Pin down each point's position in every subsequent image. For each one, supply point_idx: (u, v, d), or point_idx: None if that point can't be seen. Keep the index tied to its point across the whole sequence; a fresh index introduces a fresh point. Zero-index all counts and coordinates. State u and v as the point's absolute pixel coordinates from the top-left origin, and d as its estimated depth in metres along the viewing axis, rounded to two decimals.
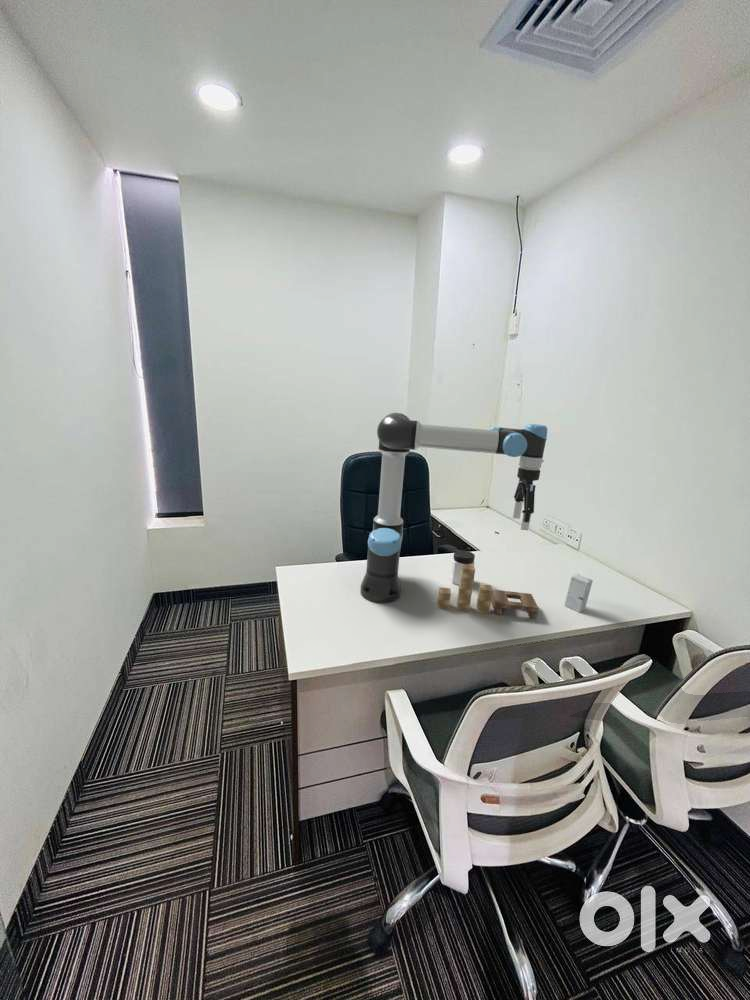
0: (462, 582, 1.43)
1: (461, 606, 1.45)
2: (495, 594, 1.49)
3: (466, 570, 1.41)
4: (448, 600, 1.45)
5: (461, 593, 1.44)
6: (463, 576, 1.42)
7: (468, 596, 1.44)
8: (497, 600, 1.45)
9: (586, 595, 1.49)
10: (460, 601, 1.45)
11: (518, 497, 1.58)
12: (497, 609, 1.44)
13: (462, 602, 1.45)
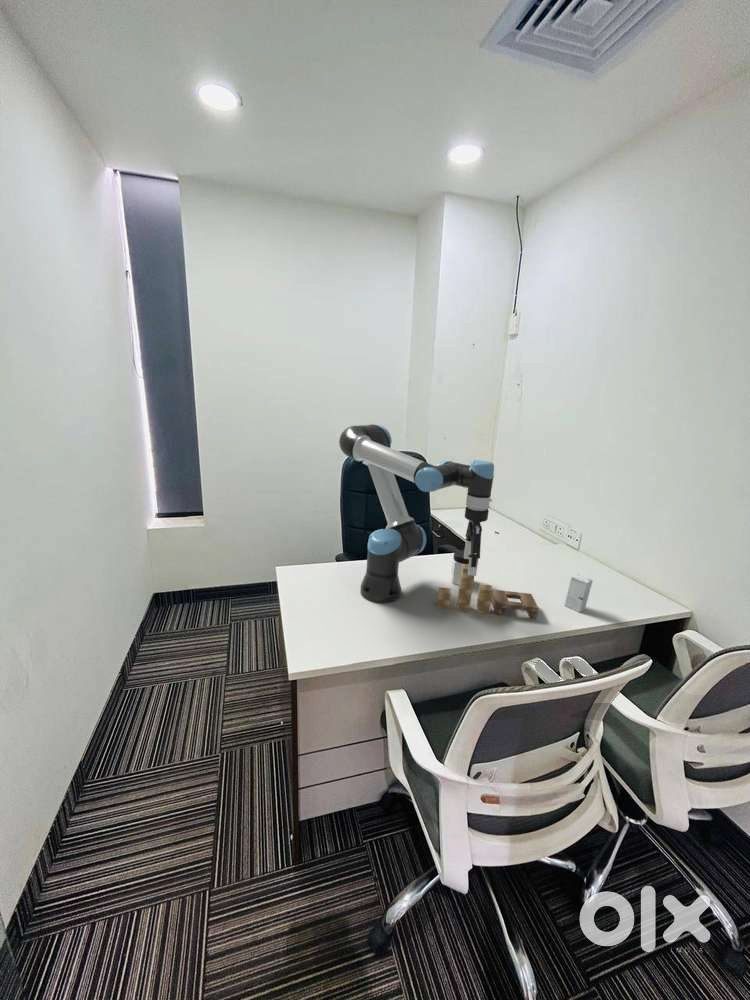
0: (462, 582, 1.43)
1: (461, 606, 1.45)
2: (495, 594, 1.49)
3: (466, 570, 1.41)
4: (448, 600, 1.45)
5: (461, 593, 1.44)
6: (463, 576, 1.42)
7: (468, 596, 1.44)
8: (497, 600, 1.45)
9: (586, 595, 1.49)
10: (460, 601, 1.45)
11: (468, 537, 1.46)
12: (497, 609, 1.44)
13: (462, 602, 1.45)
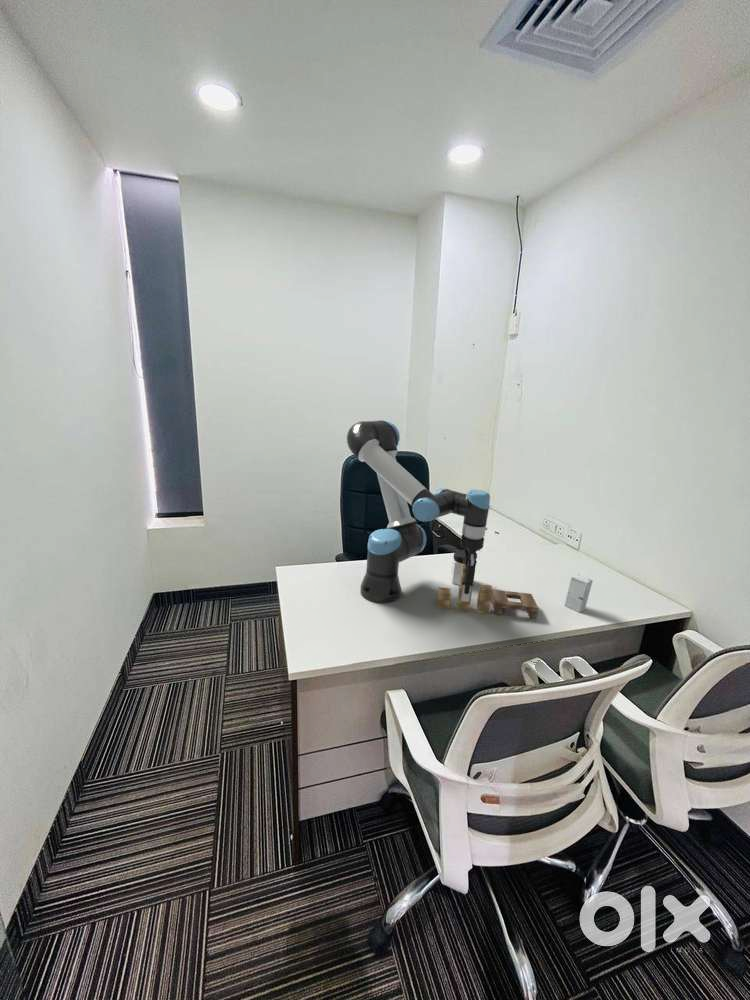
0: None
1: (461, 606, 1.45)
2: (495, 594, 1.49)
3: None
4: (448, 600, 1.45)
5: (461, 593, 1.44)
6: (463, 576, 1.42)
7: None
8: (497, 600, 1.45)
9: (586, 595, 1.49)
10: (460, 601, 1.45)
11: None
12: (497, 609, 1.44)
13: (462, 602, 1.45)
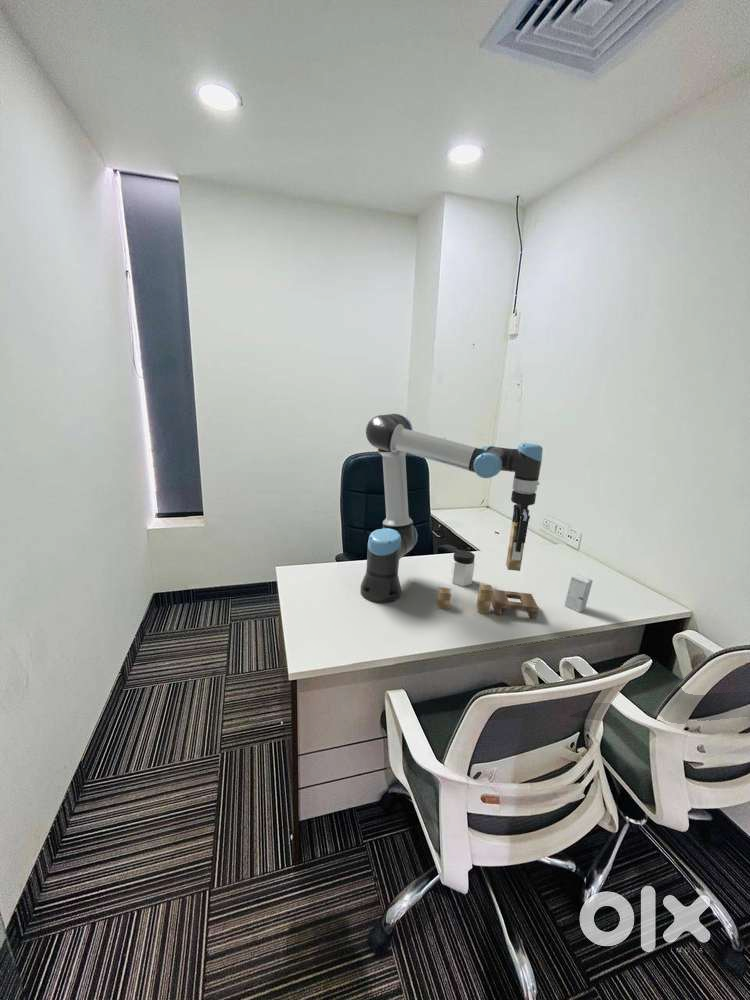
0: None
1: (511, 566, 1.41)
2: (495, 594, 1.49)
3: None
4: (448, 600, 1.45)
5: (512, 552, 1.40)
6: (514, 534, 1.38)
7: None
8: (497, 600, 1.45)
9: (586, 595, 1.49)
10: (511, 560, 1.41)
11: None
12: (497, 609, 1.44)
13: (513, 561, 1.41)
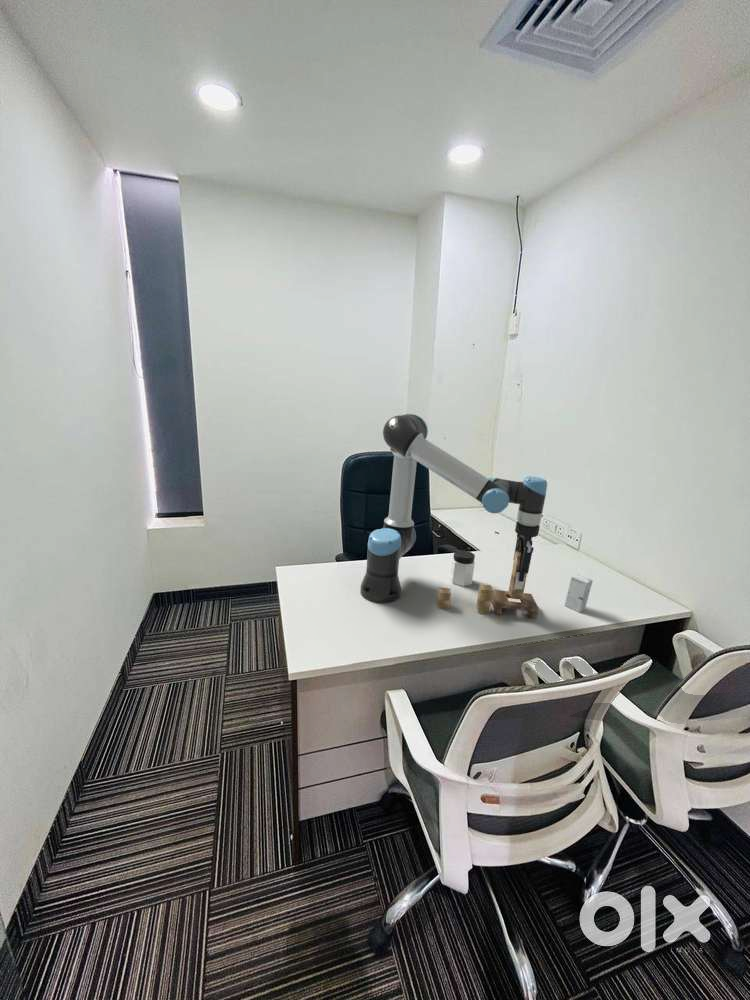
0: (516, 569, 1.42)
1: (514, 594, 1.45)
2: (495, 594, 1.49)
3: None
4: (448, 600, 1.45)
5: None
6: (517, 563, 1.42)
7: None
8: (497, 600, 1.45)
9: (586, 595, 1.49)
10: (513, 589, 1.44)
11: None
12: (497, 609, 1.44)
13: (515, 590, 1.44)
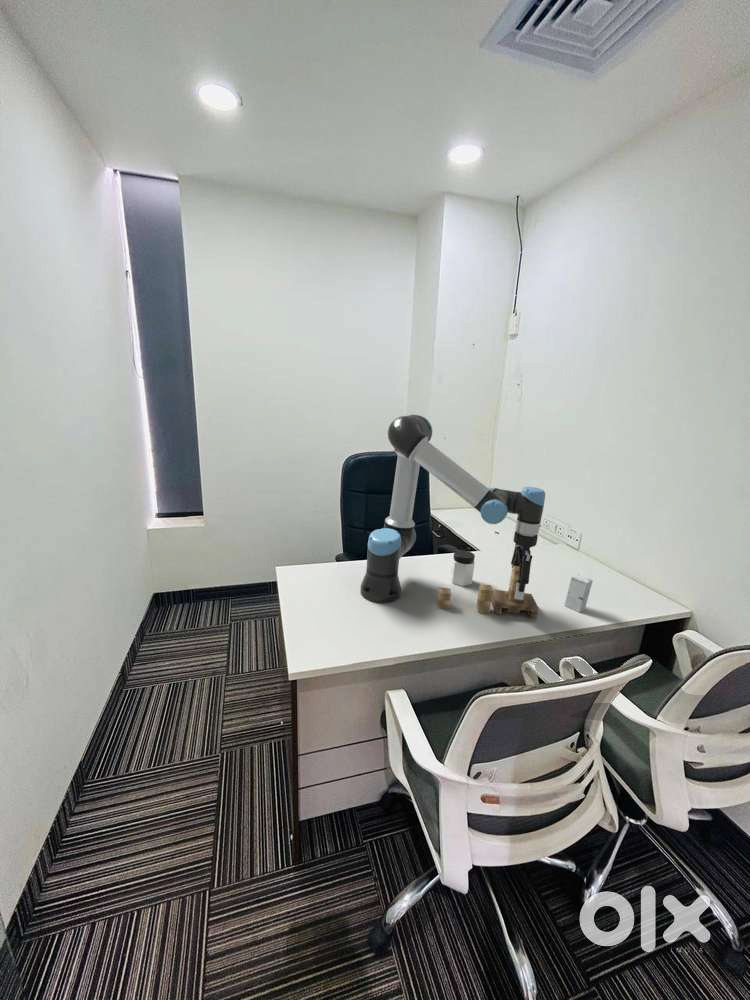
0: (513, 584, 1.44)
1: None
2: (495, 594, 1.49)
3: (518, 572, 1.43)
4: (448, 600, 1.45)
5: (512, 595, 1.45)
6: (515, 578, 1.43)
7: None
8: (497, 600, 1.45)
9: (586, 595, 1.49)
10: None
11: (515, 564, 1.48)
12: (497, 609, 1.44)
13: None
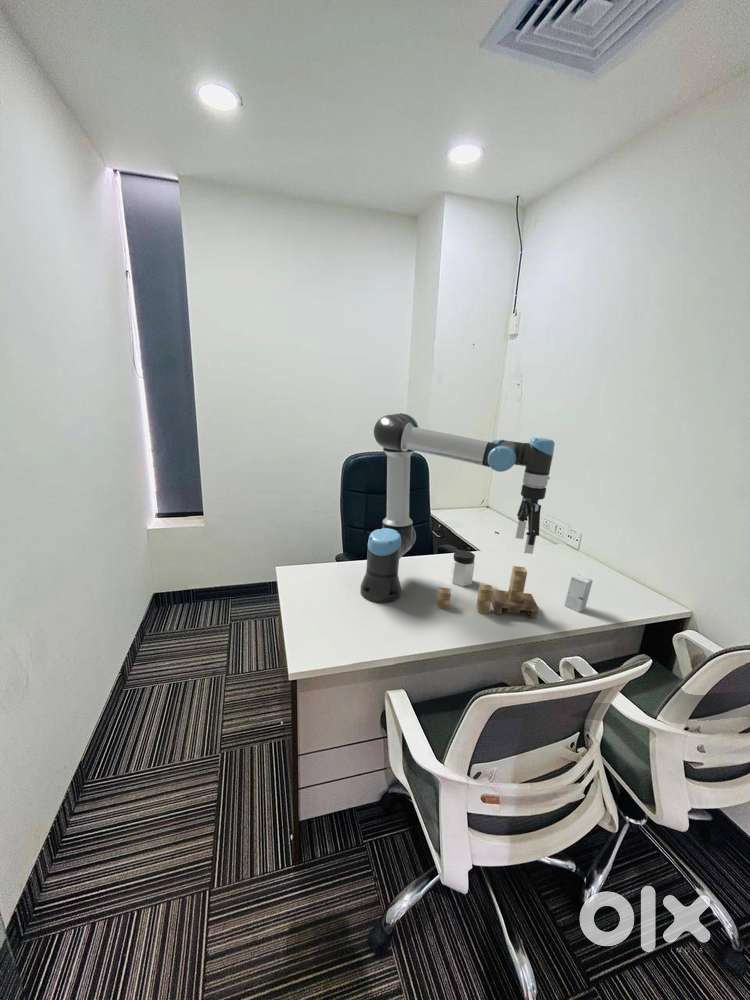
0: (514, 584, 1.44)
1: None
2: (495, 594, 1.49)
3: (518, 573, 1.43)
4: (448, 600, 1.45)
5: (512, 595, 1.45)
6: (515, 578, 1.43)
7: (519, 598, 1.45)
8: (497, 600, 1.45)
9: (586, 595, 1.49)
10: None
11: (521, 516, 1.45)
12: (497, 609, 1.44)
13: None
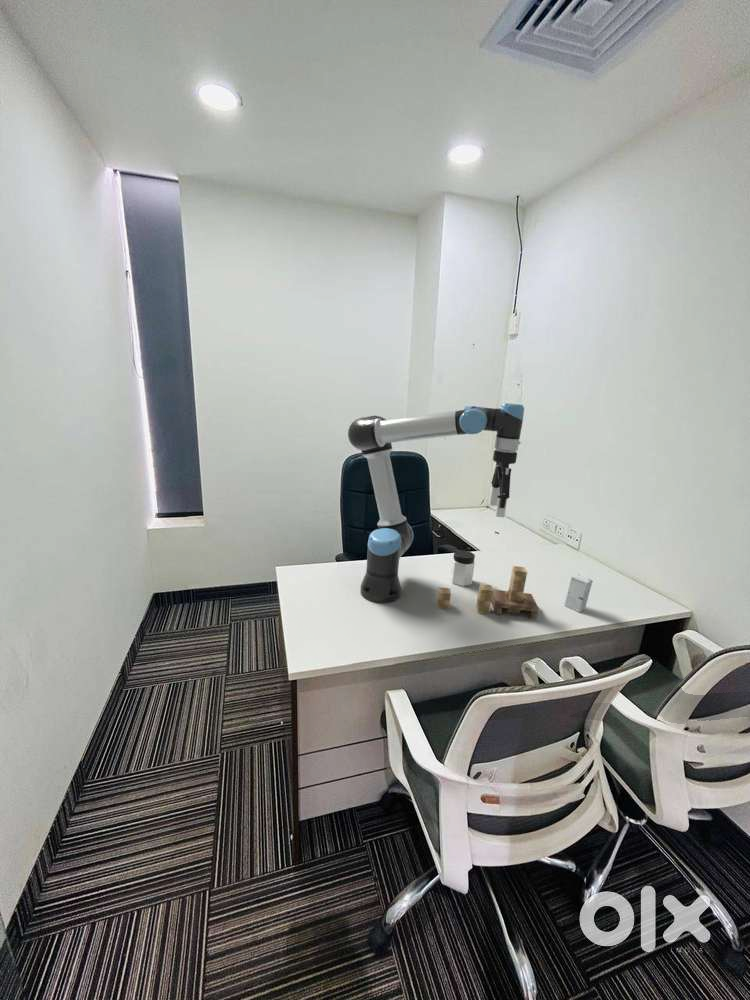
0: (514, 584, 1.44)
1: None
2: (495, 594, 1.49)
3: (518, 573, 1.43)
4: (448, 600, 1.45)
5: (512, 595, 1.45)
6: (515, 578, 1.43)
7: (519, 598, 1.45)
8: (497, 600, 1.45)
9: (586, 595, 1.49)
10: None
11: (495, 483, 1.48)
12: (497, 609, 1.44)
13: None
